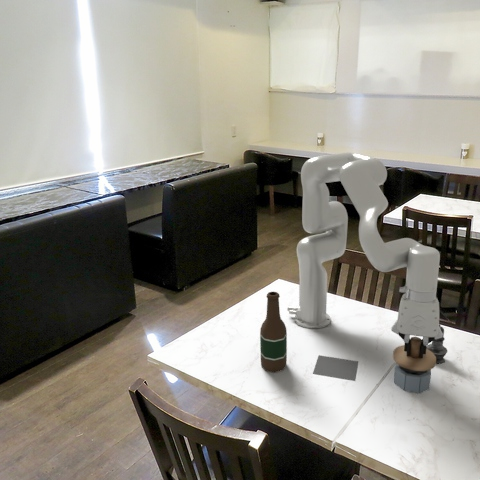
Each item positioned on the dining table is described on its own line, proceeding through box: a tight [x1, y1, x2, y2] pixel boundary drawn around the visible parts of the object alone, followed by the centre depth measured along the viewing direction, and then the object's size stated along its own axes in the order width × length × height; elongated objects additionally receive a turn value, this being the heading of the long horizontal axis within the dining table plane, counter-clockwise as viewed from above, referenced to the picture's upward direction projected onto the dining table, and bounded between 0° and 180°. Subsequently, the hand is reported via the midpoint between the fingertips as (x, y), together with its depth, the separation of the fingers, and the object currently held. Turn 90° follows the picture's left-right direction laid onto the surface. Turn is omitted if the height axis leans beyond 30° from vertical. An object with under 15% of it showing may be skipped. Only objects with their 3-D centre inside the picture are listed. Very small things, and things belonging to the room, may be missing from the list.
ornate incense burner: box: [426, 323, 448, 365], centre depth 136 cm, size 6×6×12 cm
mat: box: [312, 354, 359, 382], centre depth 135 cm, size 12×10×1 cm
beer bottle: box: [259, 291, 288, 373], centre depth 134 cm, size 8×8×24 cm
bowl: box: [393, 361, 432, 395], centre depth 127 cm, size 9×9×5 cm
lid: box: [392, 336, 437, 371], centre depth 124 cm, size 11×11×6 cm
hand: (414, 354), depth 125 cm, fingers closed on lid, 2 cm apart
